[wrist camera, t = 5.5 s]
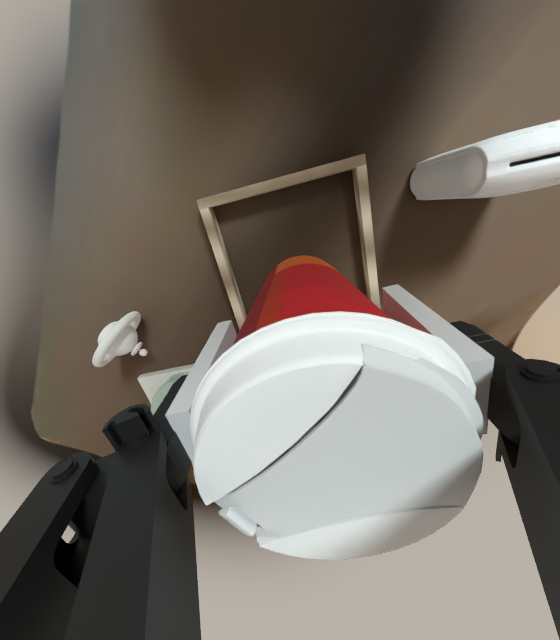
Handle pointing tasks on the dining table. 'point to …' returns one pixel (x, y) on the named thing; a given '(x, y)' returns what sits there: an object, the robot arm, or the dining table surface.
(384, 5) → the dining table surface
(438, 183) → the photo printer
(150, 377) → the cup holder
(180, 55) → the dining table surface
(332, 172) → the tray frame
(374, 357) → the paper cup
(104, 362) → the ring around a ball
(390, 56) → the dining table surface
